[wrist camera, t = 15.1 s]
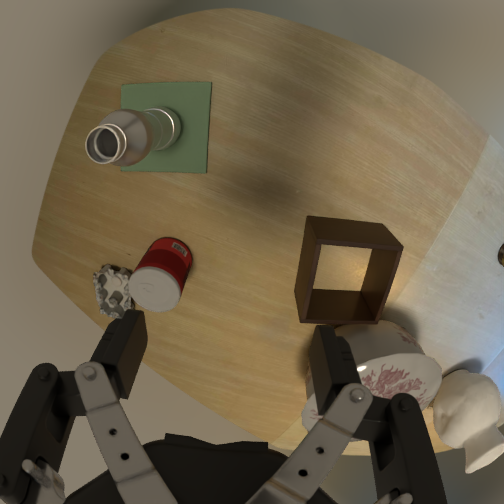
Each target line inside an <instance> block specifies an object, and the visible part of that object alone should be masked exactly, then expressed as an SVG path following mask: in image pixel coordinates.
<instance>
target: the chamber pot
mask: <svg viewBox="0 0 504 504" xmlns="http://www.w3.org/2000/svg"><path fill="white" fill-rule="evenodd" d="M335 334H336V336H343V337H344V338H345V340H346V341H347V342H348V343H349V345H350V348H351V351H352V354H353V357H354V360H355V363H356V366H357V369H358V372H359V376H360V379H361V382H362V385H364V386H366V387H367V388H368V389H369V390H370V391H371V393H372V395H374V396H377V397H382V398H387V399H392V397H393V396H394V395H395V394H398V393H408V394H410V395H412V396H413V397H415V398H416V400H417V401H418V403H419V406H420V409H421V412H422V411H423V410H424V409H425V408H426V407H427V406H428V405H429V403H430V402H431V401H432V400H433V398H434V397H435V396H436V394H437V392H438V389H439V387H440V385H441V382H442V368H441V367H440V365H439V364H438V363H437V362H436V360H435V359H434V358H431V357H428V356H426V355H425V353H424V352H423V350H422V348H421V346H420V345H419V344H418V342H417V341H416V340H415V339H414V338H413V337H412V336H411V335H410V334H409V333H408V331H407V330H406V329H405V328H404V327H401V326H399V325H397V324H394V323H392V322H389V321H385V320H382V319H379V322H378V324H377V325H363V324H344V325H341V326H339V327H338V328H336V329H335ZM306 395H307V403H306V405H305V407H304V409H303V411H302V413H301V414H302V425H303V426H304V427H305V428H306V429H307V431H308V432H310V430H311V429H312V428H313V426H314V425H315V424H316V422H317V421H318V420H319V419H320V418H322V417H323V416H318V410H317V404H316V398H315V392H314V386H313V380H312V374H311V369H310V363H309V365H308V367H307V373H306ZM353 441H361V440H360V439H355V438H351V440H350V442H353Z"/></svg>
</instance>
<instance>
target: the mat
mask: <svg viewBox="0 0 504 504" xmlns="http://www.w3.org/2000/svg"><path fill="white" fill-rule="evenodd" d="M211 90H212V82H159V83H140V84H127V85H122V87H121V109H132V110H136V111H140V112H143V111H144V110H146V109H148V108H151V107H155V106H162V107H166V108H168V109H170V110H171V111H173V112H174V113H175V114H176V115H177V117H178V118H179V121H180V125H181V131H180V134H179V136H178V138H177V140H176V141H175V143H174V144H172V145H171V146H170V147H168V148H166V149H163V150H152V151H150V153H149V154H148V155H147V156H146V157H145V158H144V159H143V160H141V161H140V162H138V163H137V164H134V165H132V166H121V171H148V172H182V173H204V174H206V173H207V155H208V136H209V119H210V104H211Z"/></svg>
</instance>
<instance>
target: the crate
mask: <svg viewBox="0 0 504 504" xmlns="http://www.w3.org/2000/svg"><path fill="white" fill-rule="evenodd" d="M321 244H324V245H336V246H348V247H359V248H370V249H372V253H371V257H370V261H369V264H368V268H367V271H366V275H365V278H364V282H363V285H362V289H361V291H342V290H322V289H313V284H314V279H315V275H316V270H317V265H318V260H319V255H320V250H321ZM403 248H404V247H403V245H402V244H401V243H400V242H399V241H398V240H397V239H396V238H395V237H394V235H393V234H392V233H391V232H390V231H389V230H388V229H387V228H386V227H385V226H384V225H383V224H380V223H371V222H363V221H354V220H345V219H335V218H325V217H315V216H307V218H306V225H305V231H304V237H303V243H302V249H301V255H300V261H299V267H298V273H297V278H296V284H295V289H294V293H295V298H296V304H297V309H298V315H299V320H300V323H314V324H363V325H377V324H378V322H379V319H380V316H381V314H382V311H383V308H384V306H385V303H386V300H387V297H388V294H389V292H390V289H391V286H392V283H393V280H394V277H395V274H396V271H397V267H398V264H399V261H400V258H401V254H402V251H403Z"/></svg>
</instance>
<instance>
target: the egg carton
mask: <svg viewBox="0 0 504 504" xmlns="http://www.w3.org/2000/svg"><path fill="white" fill-rule="evenodd" d="M93 276H94V277H93V280H94V286H95V291H96V299H97V302H98V304H99V307H100V312H101V314H107V315H108V317H113V318H120V319H122V318H123V316H124V314H125V312H126V310H127V309H133V308H134V304H133V303H131V297H132V296H131V294H130V292H129V285H128V284H129V280H130V277H131V274H130V273H129V272H128V271H127V269H126V268H123V267H122V268H121V270H120V271H114V270H113V269H112V267H111V265H108V264H106V265H105V267H104V268H102V269H101V270H100V271H99V272H94V275H93Z"/></svg>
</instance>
